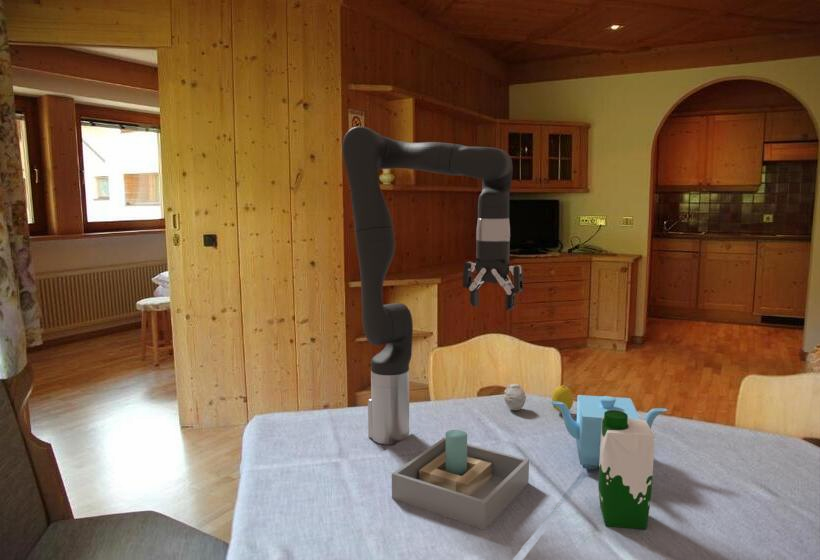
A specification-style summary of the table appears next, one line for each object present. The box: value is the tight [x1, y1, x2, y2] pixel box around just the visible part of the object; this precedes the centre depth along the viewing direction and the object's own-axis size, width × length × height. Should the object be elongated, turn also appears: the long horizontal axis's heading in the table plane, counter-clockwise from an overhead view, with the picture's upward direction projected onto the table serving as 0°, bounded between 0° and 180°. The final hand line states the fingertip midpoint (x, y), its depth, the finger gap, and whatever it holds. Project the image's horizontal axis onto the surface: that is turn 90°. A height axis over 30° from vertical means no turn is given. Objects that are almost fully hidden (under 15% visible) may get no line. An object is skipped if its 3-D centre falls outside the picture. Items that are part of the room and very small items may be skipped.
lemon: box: [551, 384, 574, 415], centre depth 161 cm, size 6×6×8 cm
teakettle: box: [549, 394, 669, 470], centre depth 132 cm, size 19×19×15 cm
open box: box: [391, 437, 530, 531], centre depth 119 cm, size 20×20×6 cm
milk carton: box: [597, 410, 655, 530], centre depth 109 cm, size 9×9×20 cm
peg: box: [445, 429, 468, 476], centre depth 122 cm, size 4×4×10 cm
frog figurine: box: [503, 383, 527, 411], centre depth 164 cm, size 6×7×7 cm
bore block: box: [419, 451, 492, 496], centre depth 123 cm, size 11×11×3 cm
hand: (491, 308), depth 138 cm, fingers open, 8 cm apart
